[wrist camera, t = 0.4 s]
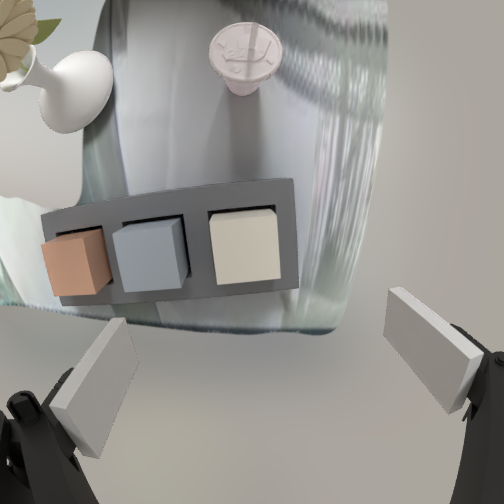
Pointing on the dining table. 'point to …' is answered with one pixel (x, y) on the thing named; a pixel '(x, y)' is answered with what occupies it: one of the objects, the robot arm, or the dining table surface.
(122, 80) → the dining table surface
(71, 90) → the flower in vase
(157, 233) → the key slate
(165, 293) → the console
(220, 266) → the key cream
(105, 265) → the key terracotta
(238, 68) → the smoothie
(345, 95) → the dining table surface
